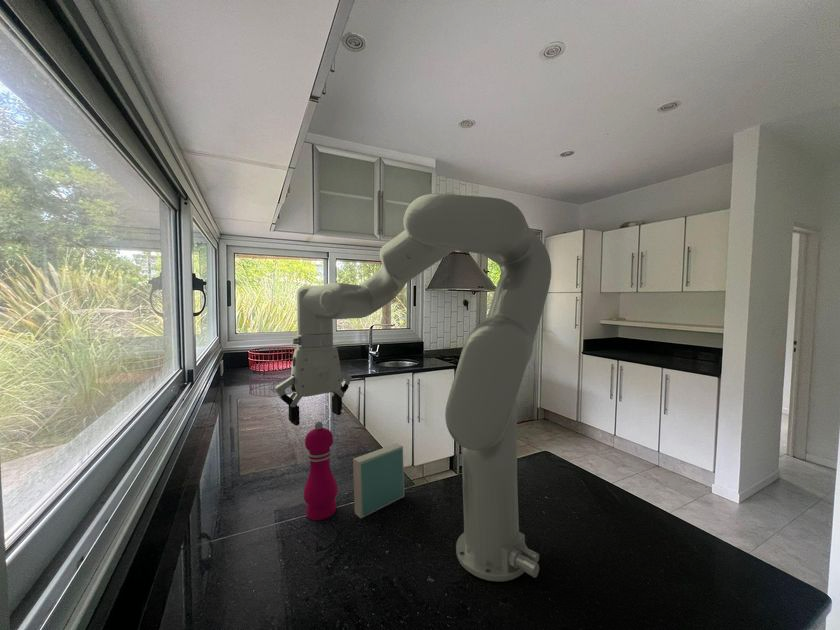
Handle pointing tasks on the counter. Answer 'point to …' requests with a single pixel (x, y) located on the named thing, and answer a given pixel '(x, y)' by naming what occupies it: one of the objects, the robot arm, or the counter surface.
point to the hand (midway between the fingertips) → (316, 418)
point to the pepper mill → (320, 475)
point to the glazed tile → (378, 479)
